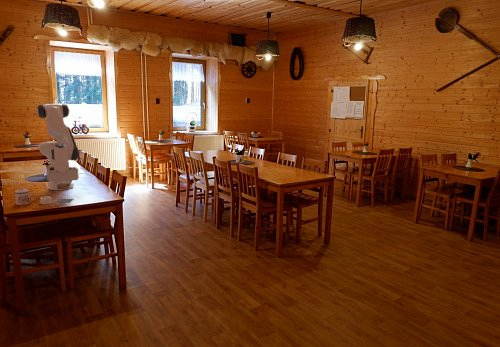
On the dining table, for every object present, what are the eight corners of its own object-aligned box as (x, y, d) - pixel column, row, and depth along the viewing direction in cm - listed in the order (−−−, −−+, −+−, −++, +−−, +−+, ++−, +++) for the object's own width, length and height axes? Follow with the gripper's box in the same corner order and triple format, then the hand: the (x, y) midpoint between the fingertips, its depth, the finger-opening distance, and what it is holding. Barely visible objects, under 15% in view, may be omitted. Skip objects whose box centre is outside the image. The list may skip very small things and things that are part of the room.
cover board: (61, 186, 272) (60, 182, 271) (70, 185, 273) (69, 181, 272) (57, 189, 263) (57, 185, 262) (66, 189, 264) (66, 184, 263)
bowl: (42, 203, 266) (42, 196, 265) (52, 202, 267) (52, 196, 266) (39, 205, 259) (38, 198, 258) (49, 205, 261) (49, 198, 260)
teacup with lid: (17, 206, 258) (15, 189, 256) (14, 203, 264) (12, 187, 262) (36, 203, 266) (35, 187, 264) (33, 200, 272) (31, 184, 270)
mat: (59, 200, 274) (59, 199, 274) (74, 199, 276) (74, 198, 276) (54, 204, 262) (54, 203, 262) (69, 204, 264) (69, 202, 264)
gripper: (79, 166, 270) (80, 184, 273) (48, 166, 266) (49, 185, 269) (76, 168, 264) (78, 187, 267) (45, 168, 260) (47, 187, 263)
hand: (63, 186), depth 268 cm, fingers closed on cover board, 6 cm apart
